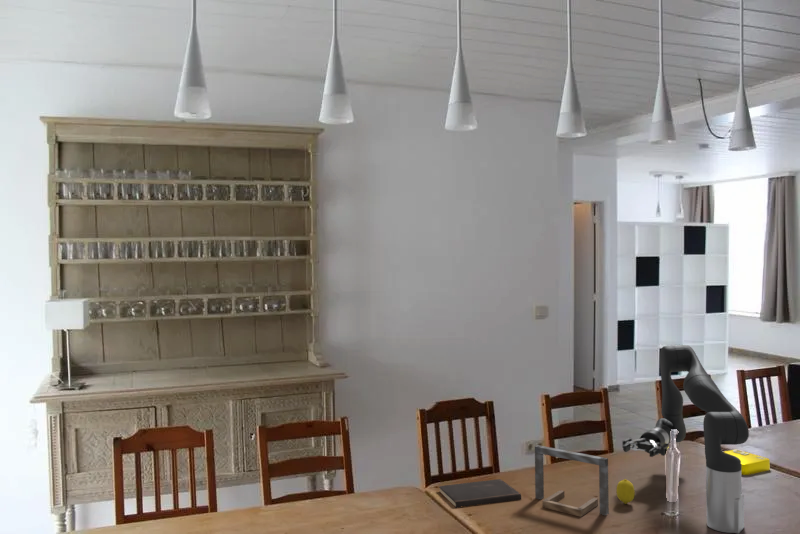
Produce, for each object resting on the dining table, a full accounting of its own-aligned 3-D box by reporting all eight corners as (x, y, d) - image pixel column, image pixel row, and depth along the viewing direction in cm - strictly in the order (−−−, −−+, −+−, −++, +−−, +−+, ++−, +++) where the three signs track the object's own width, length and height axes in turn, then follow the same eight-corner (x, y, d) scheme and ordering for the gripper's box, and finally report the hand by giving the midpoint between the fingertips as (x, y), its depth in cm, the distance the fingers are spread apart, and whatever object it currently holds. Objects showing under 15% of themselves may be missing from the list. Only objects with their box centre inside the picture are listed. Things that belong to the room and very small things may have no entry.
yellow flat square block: (708, 465, 247) (708, 452, 247) (736, 459, 253) (736, 447, 253) (744, 476, 233) (744, 463, 233) (772, 470, 239) (772, 457, 239)
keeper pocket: (614, 509, 203) (614, 454, 203) (598, 521, 194) (597, 464, 194) (545, 492, 219) (544, 442, 219) (527, 503, 210) (526, 450, 209)
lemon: (636, 507, 204) (635, 482, 204) (617, 506, 205) (617, 481, 205) (633, 501, 210) (633, 476, 210) (615, 500, 211) (615, 475, 211)
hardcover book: (438, 492, 222) (438, 486, 222) (500, 485, 228) (500, 478, 228) (455, 509, 206) (455, 502, 206) (521, 501, 213) (521, 494, 213)
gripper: (634, 426, 233) (616, 436, 221) (675, 433, 224) (659, 444, 211) (634, 447, 233) (616, 458, 221) (675, 454, 224) (659, 466, 212)
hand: (637, 451), depth 216 cm, fingers open, 8 cm apart
